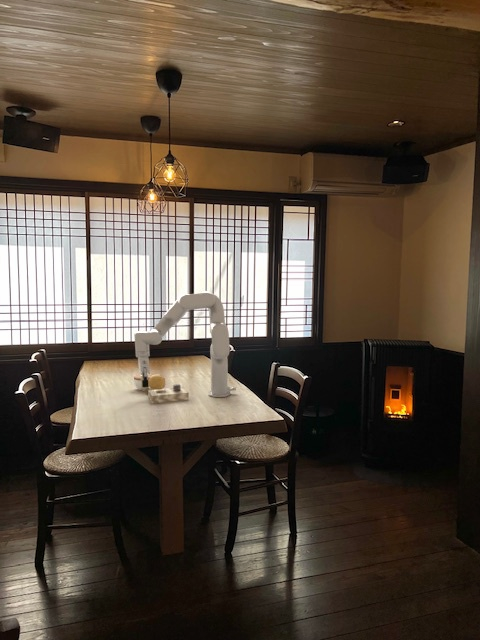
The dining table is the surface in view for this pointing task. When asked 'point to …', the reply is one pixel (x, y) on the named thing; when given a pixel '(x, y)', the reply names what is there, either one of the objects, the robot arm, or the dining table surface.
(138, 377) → the lidded jar
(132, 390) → the dining table surface
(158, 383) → the stress ball
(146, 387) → the brass cylinder
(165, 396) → the jig
